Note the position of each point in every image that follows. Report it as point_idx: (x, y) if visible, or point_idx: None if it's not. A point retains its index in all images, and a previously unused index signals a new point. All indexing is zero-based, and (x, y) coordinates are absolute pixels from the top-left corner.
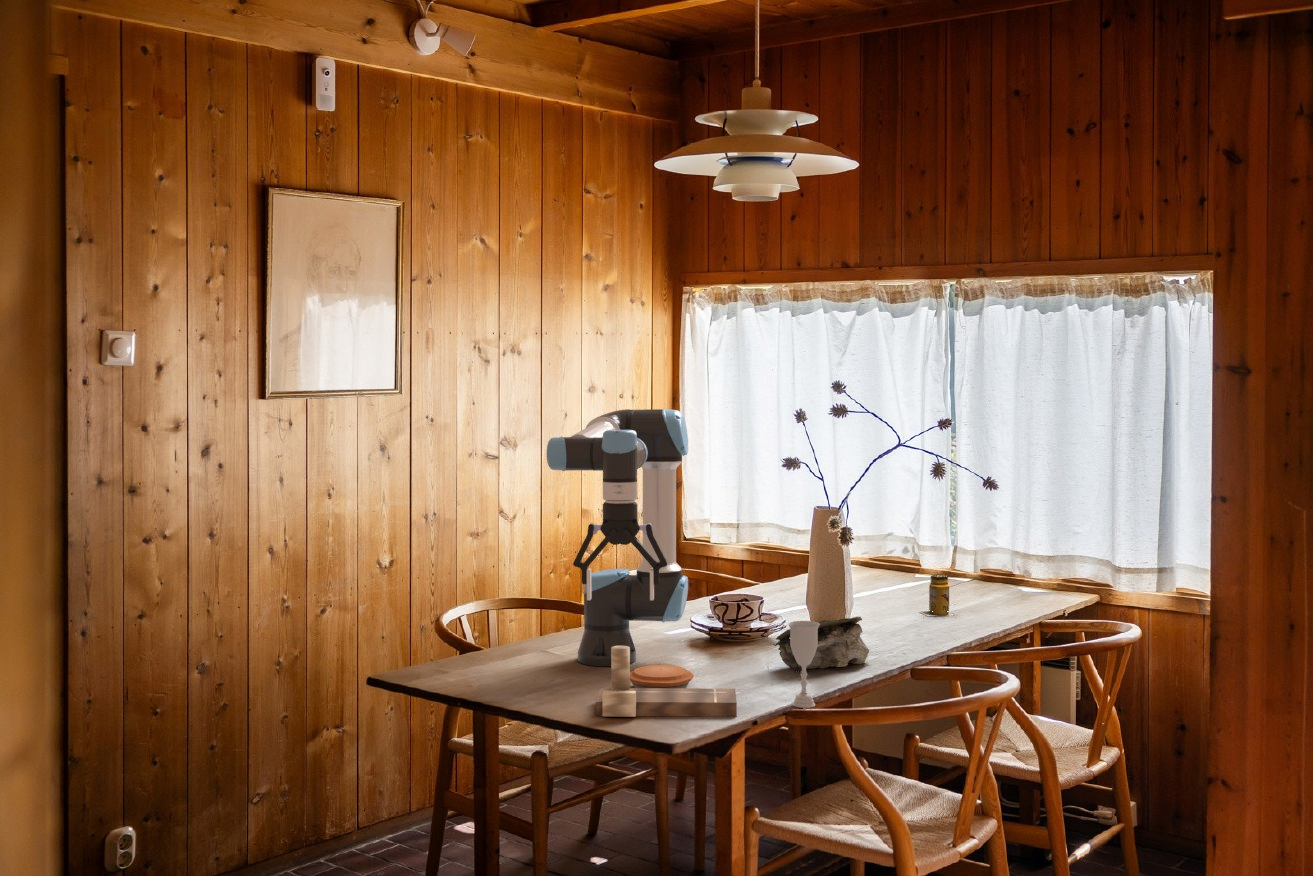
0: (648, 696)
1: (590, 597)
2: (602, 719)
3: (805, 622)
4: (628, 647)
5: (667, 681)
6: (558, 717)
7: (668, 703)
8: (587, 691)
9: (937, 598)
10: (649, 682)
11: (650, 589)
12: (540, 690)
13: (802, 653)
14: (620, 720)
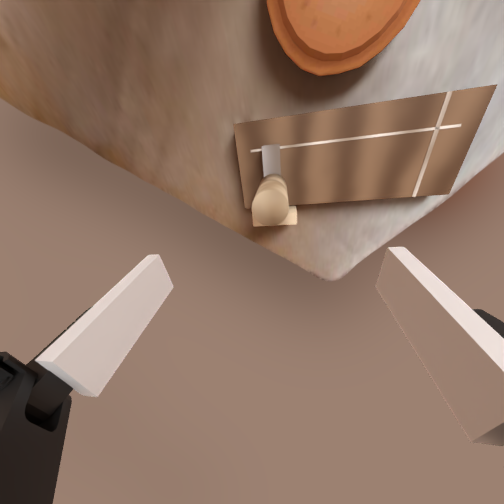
0: (313, 172)
1: (168, 288)
2: None
3: None
4: (286, 207)
5: (356, 58)
6: (208, 212)
7: (340, 201)
8: (197, 46)
9: None
10: (317, 75)
11: (399, 320)
12: (120, 56)
13: None
14: None
